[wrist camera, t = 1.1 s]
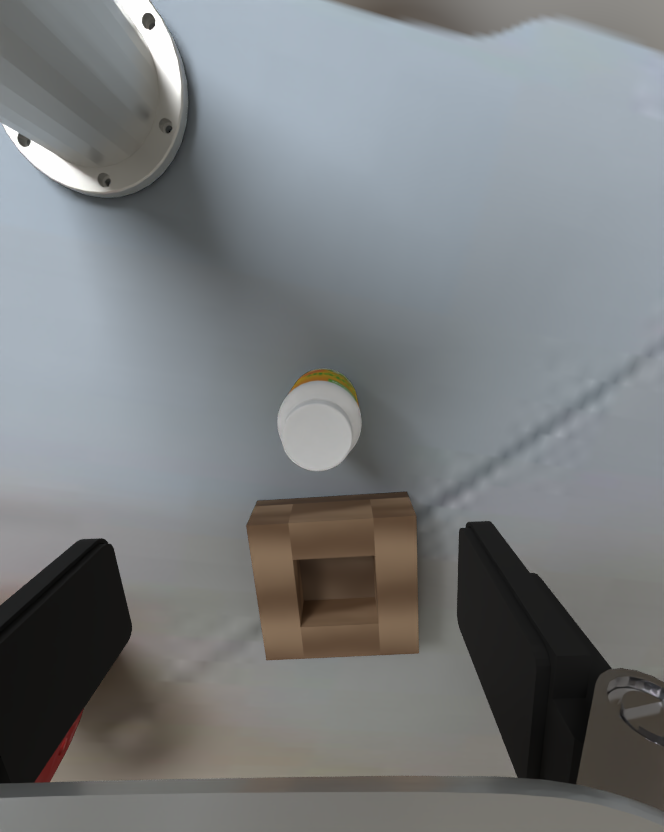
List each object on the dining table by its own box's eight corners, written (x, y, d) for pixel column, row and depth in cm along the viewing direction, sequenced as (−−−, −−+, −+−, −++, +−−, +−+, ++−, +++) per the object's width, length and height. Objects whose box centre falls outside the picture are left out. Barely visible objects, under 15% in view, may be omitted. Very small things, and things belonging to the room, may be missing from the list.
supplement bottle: (364, 376, 29) (377, 404, 20) (347, 439, 30) (351, 492, 21) (298, 359, 29) (279, 379, 19) (284, 423, 30) (260, 471, 21)
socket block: (257, 500, 32) (246, 525, 28) (406, 491, 32) (416, 515, 28) (274, 622, 35) (266, 660, 31) (409, 616, 35) (418, 653, 31)
